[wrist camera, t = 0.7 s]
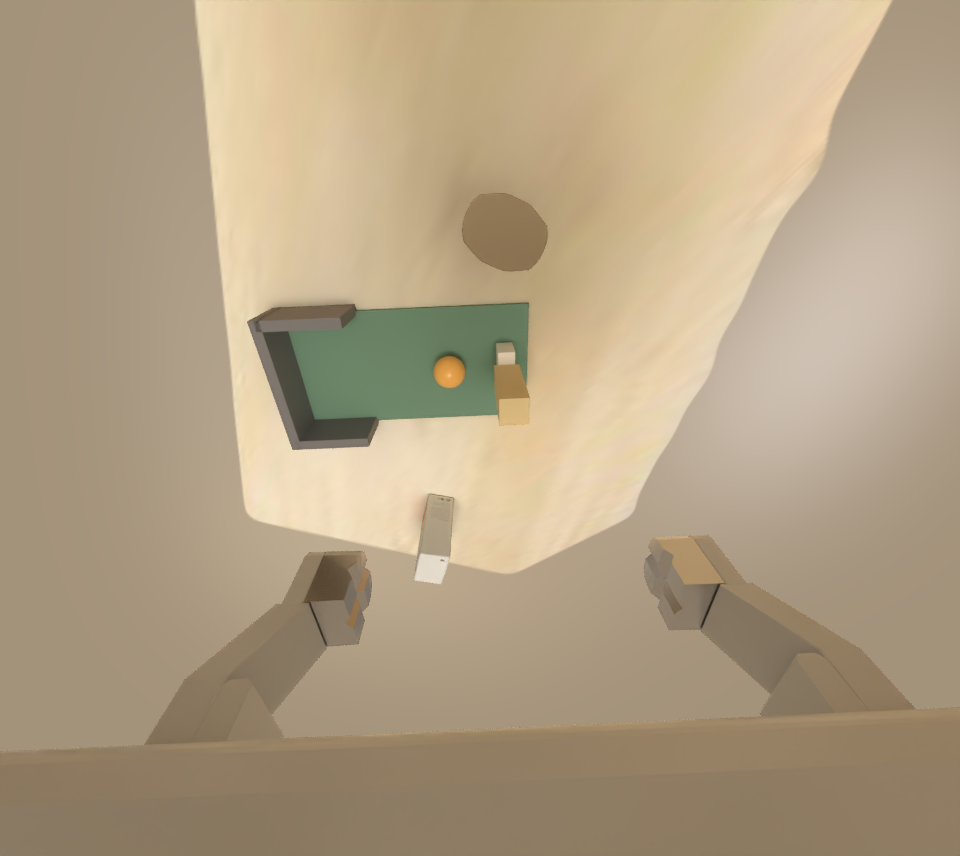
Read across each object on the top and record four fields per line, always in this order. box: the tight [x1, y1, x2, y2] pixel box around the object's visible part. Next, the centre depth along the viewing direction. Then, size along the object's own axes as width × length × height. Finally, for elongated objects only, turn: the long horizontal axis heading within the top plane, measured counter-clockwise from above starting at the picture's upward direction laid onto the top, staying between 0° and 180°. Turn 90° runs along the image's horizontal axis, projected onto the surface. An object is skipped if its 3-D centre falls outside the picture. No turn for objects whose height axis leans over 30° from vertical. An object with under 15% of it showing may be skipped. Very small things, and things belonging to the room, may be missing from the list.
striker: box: [494, 342, 530, 426], centre depth 43 cm, size 6×3×13 cm, turn 2°
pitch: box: [288, 303, 529, 420], centre depth 49 cm, size 15×31×1 cm, turn 92°
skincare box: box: [414, 494, 454, 584], centre depth 57 cm, size 6×4×12 cm
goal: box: [247, 304, 379, 450], centre depth 47 cm, size 16×10×6 cm, turn 2°
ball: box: [433, 356, 465, 388], centre depth 47 cm, size 4×4×4 cm
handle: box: [462, 193, 548, 271], centre depth 34 cm, size 5×6×15 cm
